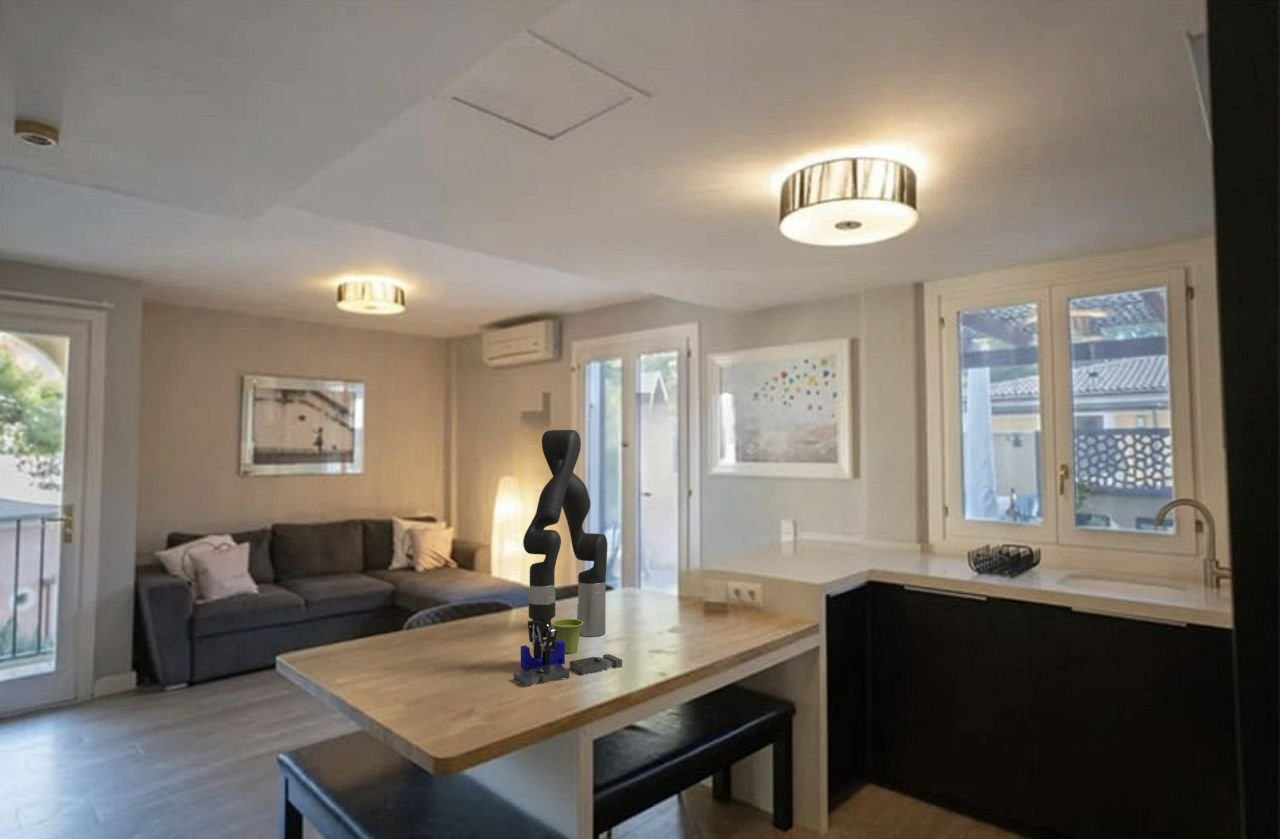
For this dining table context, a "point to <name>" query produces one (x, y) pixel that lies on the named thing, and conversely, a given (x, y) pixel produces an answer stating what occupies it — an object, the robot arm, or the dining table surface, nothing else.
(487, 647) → the dining table surface
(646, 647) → the dining table surface
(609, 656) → the grey slotted plastic plates
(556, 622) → the plant pot
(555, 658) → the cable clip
